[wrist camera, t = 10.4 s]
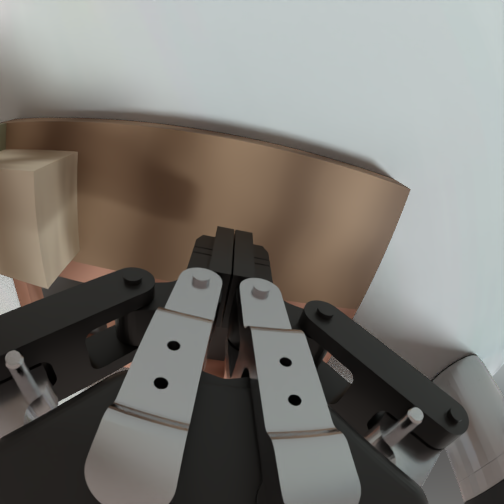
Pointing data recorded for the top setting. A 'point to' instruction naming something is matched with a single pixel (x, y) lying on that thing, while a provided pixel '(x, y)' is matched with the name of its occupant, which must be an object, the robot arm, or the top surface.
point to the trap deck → (215, 208)
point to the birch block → (37, 214)
